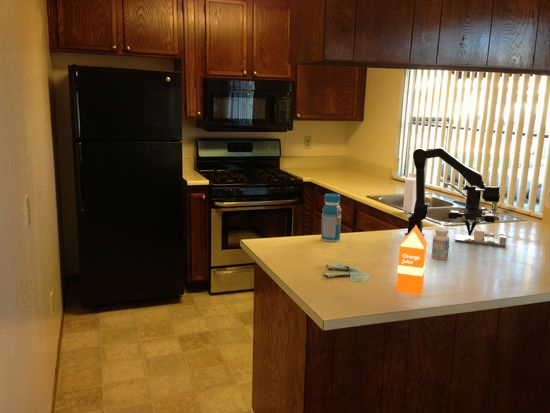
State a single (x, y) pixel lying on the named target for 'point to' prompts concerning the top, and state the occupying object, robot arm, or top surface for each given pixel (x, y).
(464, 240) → the gauge base
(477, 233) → the white square block
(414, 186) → the milk
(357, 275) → the cloth
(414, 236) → the orange juice
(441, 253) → the pill bottle
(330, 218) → the beverage bottle
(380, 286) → the top surface
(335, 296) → the top surface
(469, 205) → the robot arm
